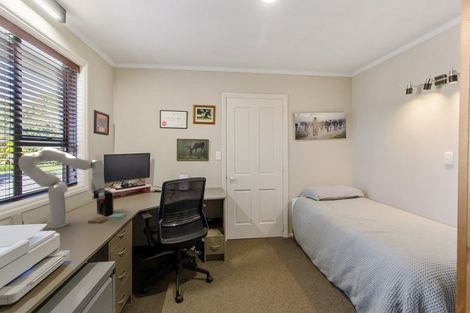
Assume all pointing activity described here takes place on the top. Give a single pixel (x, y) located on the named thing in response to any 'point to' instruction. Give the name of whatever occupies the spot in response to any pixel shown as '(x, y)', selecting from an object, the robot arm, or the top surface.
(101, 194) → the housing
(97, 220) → the stand
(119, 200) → the top surface
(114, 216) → the stand
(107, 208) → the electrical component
